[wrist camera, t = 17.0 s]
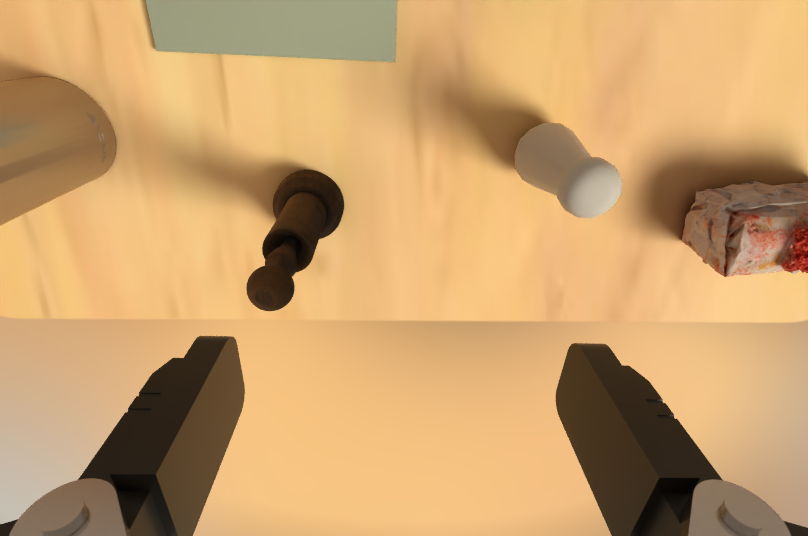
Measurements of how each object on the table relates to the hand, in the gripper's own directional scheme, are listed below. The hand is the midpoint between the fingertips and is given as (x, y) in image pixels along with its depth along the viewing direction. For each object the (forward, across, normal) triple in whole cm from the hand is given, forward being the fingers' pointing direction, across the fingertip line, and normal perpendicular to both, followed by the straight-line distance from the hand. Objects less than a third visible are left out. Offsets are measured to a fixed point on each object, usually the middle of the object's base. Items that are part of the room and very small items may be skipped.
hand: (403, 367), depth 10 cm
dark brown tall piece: (+33, +8, +8) cm, 35 cm away
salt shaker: (+33, -14, +2) cm, 36 cm away
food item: (+33, -37, +7) cm, 50 cm away
